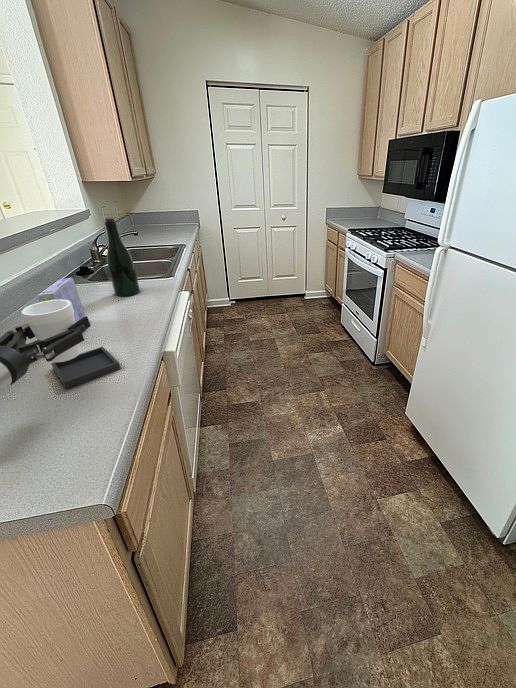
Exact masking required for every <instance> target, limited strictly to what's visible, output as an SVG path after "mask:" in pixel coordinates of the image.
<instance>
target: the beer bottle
mask: <svg viewBox="0 0 516 688" xmlns="http://www.w3.org/2000/svg"><path fill="white" fill-rule="evenodd" d="M104 226H105V229H106V235H107V242H108V243H107V251H106V263H107V267H108V272H109V276H110V280H111V284H112V288H113V292H114V294H115V295H116V296H118V297H128V296H134V295H136V294H139V292H141V291H140V290H141V287H140V284H139V279H138V276H137V272H136V268H135V265H134V260H133V258H132V255H131V253H130V252H129V250H128V248H127V247H126V246H125V244H124V242H123V240H122V239H121V236H120V232H119V229H118V223H117V222H116V221H115V218H114V217H107V218H104Z"/></svg>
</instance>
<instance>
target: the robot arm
mask: <svg viewBox="0 0 516 688" xmlns="http://www.w3.org/2000/svg"><path fill="white" fill-rule="evenodd" d="M90 327H91V323H90V320H89V317H88V316H87V315H86V316H84V317H83V318H81V319H80V320H79V321H77V322H76V323H74V324H73V325H72V326H70V327H69V328H68V329H69V330H68V331H65V332H63V333H60V334H58V335H55V336H53V337H50V338H48V339H45V340H42V341H41V340H37V339H36V340H34V341H32V342H29V343H26V342H27V340H32V339H34V338H36V336H35V335H34V333H33V331H32V330H31V328H30V327H29V325H28V326H26V327H24V328H23V326H16V327H15V328H14V329H15V332H14V331H13V330H8V331H6V332H5V333H4V334H3V335H1V336H0V394H2V393H3V392H4V391H5V390H7V389H8V388H9V387H11V386H12V385H14V384H15V383H16V382H17V381H19V380H20V379H21V378H23V377H24V376H25V375H26V374H27V372H28V369H29V367H30V365H31V364H34V363H35V362H37V361H39V360H41V359H45V361H46V362H47V363H48V362H50V363H51V361H52V360H54V359H55V358H56V357H57V356H58V355H60V354H61V353H63V352H65V351H67V350H68V349H70V348H72V347H74V346H75V345H77V344H79V345H80V344H81V343H82V342H84V341H85V337H84V335H83V334H84V333H85V332H86V330H88V329H89V328H90Z"/></svg>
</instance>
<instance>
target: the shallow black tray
mask: <svg viewBox="0 0 516 688" xmlns="http://www.w3.org/2000/svg"><path fill="white" fill-rule="evenodd" d="M50 365H51V367H52V370H53V371H54V372H55V374H56V375H57V377H58V379H59V380H60V382H61V384H62V385H63V386H64V388H65V390H68V389H71V388H73V387H76V386H79V385H82V384H85V383H88V382H90V381H92V380H95V379H97V378H100V377H102V376H105V375H108V374H110V373H113V372H116V371H119V370H120V369H121V366H120V362H119V361H118V360H117V359H115V357H114V356H113V355H112V354H111V353H110V352H109V351H108V350H107V349H106V348H105V347H104V346H100V347H97V348H96V347H95V348H93V349H91V350H87V351H85V352H82V353H81V352H80V354H79V355H78V356H77V357H75V358H73V359H71V360H68V361H64V362H52V363H51V362H50Z"/></svg>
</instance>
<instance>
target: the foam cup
mask: <svg viewBox="0 0 516 688" xmlns="http://www.w3.org/2000/svg"><path fill="white" fill-rule="evenodd" d="M27 306H28V307H26V306H25V308H24V307H23V308H22V309H21V310H20V311H21V313H20V314H21V315H22V317H23V321H24V322H25V323H26V324H27V325H28V326H29V327H30V328H31V330H32V331H33V333H34V335H35V338H36V340H41V341H42V340H45V339H48V338H50V337H53V336H55V335H58V334H60V333H63V332H65V331H68V330H69V329H68V328H69V327H70V326H72V325H73V324H74V323H75V318H74V309H73V306H72V303H71V302H70V301H69V300H63V299H60V300H49V301H44V302H39V301H38V302H35V303H33V304H30V306H29V305H27ZM80 350H81V349H80V343H79V344H77V345H75V346H74V347H72V348H70V349H68V350H67V351H65V352H63V353H61V354H60V355H58V356H57V357H56V358H55V359H54V360H52V361H50V363H51V362H52V363H54V362H64V361H68V360H71V359H73V358H75V357H77V356H78V355H79V354H81V351H80Z"/></svg>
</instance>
